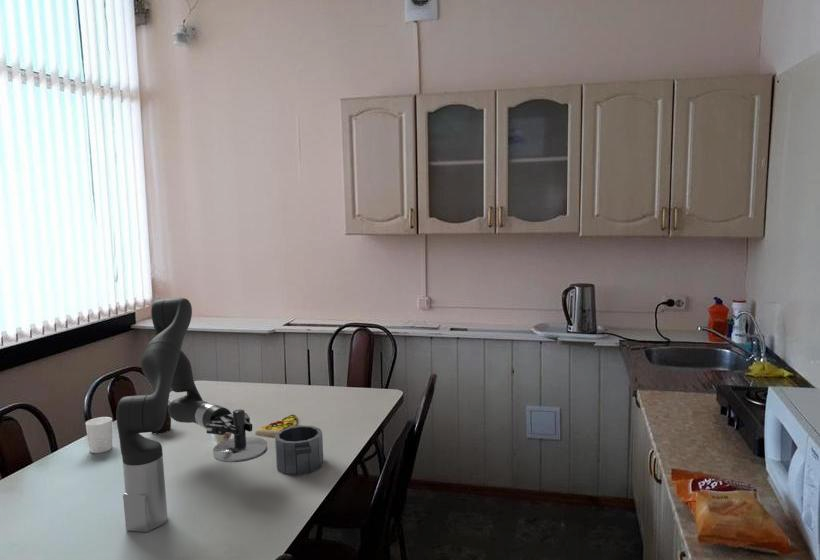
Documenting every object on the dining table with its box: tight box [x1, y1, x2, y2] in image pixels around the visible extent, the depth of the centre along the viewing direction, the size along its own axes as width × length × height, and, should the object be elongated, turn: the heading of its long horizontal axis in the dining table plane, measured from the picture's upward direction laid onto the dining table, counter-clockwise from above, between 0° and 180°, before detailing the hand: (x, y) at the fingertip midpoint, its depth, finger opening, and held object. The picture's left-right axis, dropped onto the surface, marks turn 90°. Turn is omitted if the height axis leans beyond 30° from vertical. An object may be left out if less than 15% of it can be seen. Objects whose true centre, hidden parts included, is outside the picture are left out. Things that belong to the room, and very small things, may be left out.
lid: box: [212, 408, 268, 463], centre depth 168 cm, size 15×15×12 cm
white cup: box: [85, 416, 113, 454], centre depth 197 cm, size 8×8×10 cm
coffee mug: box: [151, 399, 173, 435], centre depth 215 cm, size 12×9×10 cm
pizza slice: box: [254, 414, 298, 438], centre depth 215 cm, size 16×21×3 cm
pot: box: [274, 424, 325, 476], centre depth 181 cm, size 20×14×10 cm
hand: (245, 429), depth 166 cm, fingers closed on lid, 3 cm apart
